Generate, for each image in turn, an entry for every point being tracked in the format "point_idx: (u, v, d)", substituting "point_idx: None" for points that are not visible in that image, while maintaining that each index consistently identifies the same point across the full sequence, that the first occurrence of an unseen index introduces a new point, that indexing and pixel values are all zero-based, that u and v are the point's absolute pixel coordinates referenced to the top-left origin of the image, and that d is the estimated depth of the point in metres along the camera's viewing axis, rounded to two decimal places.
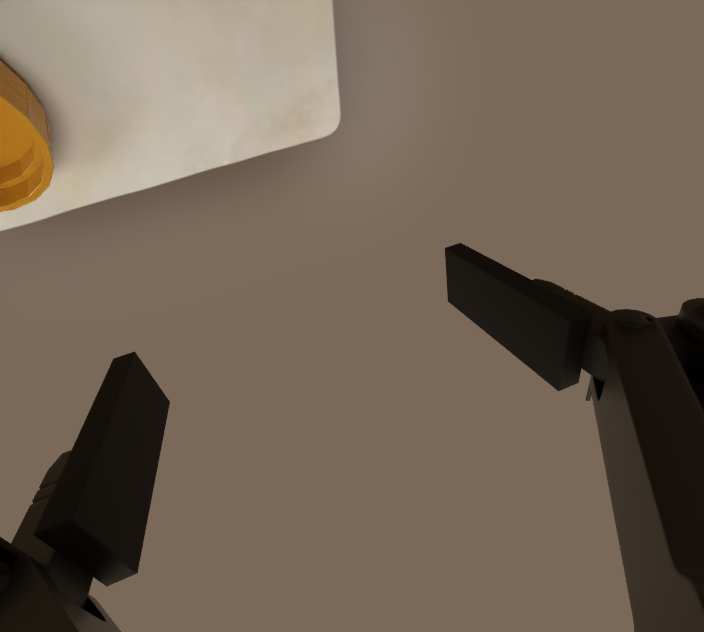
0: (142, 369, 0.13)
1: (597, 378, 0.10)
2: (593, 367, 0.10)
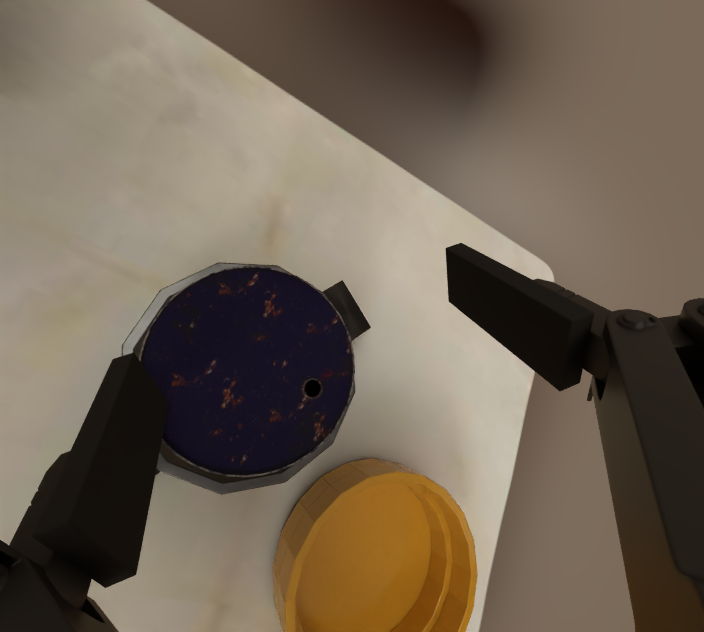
0: (142, 370, 0.13)
1: (599, 378, 0.10)
2: (594, 367, 0.10)
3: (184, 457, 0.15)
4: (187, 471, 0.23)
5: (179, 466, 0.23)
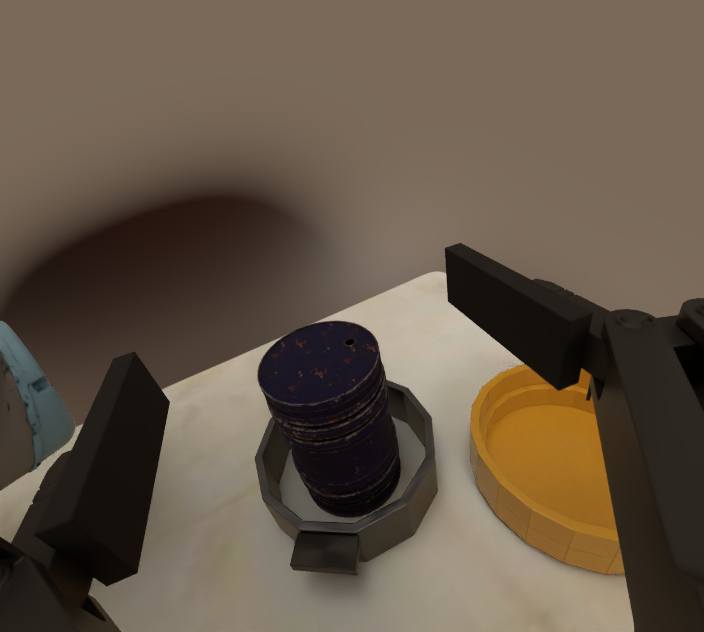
0: (143, 369, 0.13)
1: (597, 378, 0.10)
2: (593, 367, 0.10)
3: (327, 400, 0.23)
4: (372, 515, 0.26)
5: None
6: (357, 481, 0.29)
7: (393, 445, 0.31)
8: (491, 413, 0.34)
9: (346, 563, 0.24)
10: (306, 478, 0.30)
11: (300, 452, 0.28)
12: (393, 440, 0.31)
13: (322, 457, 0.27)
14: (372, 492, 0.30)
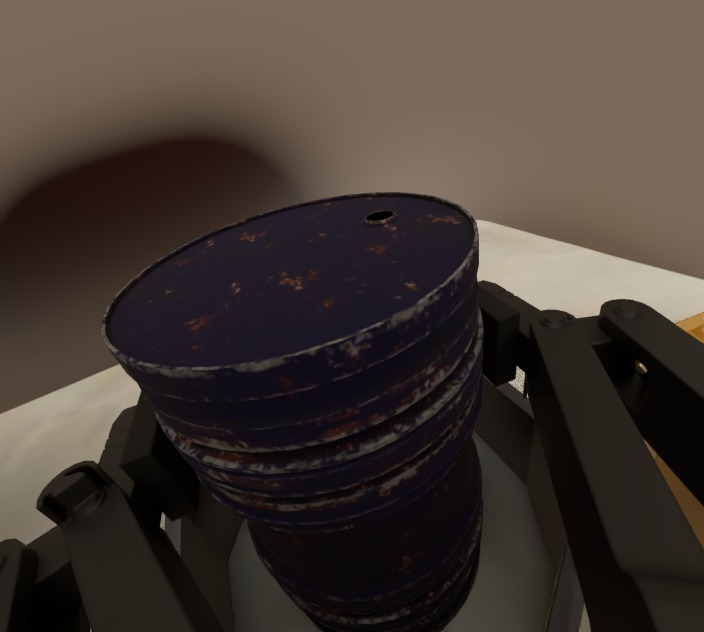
0: None
1: (530, 376, 0.11)
2: (526, 367, 0.11)
3: (317, 350, 0.06)
4: None
5: None
6: (406, 590, 0.11)
7: (480, 484, 0.13)
8: None
9: None
10: (274, 573, 0.12)
11: None
12: (479, 472, 0.13)
13: (307, 538, 0.09)
14: (437, 605, 0.12)
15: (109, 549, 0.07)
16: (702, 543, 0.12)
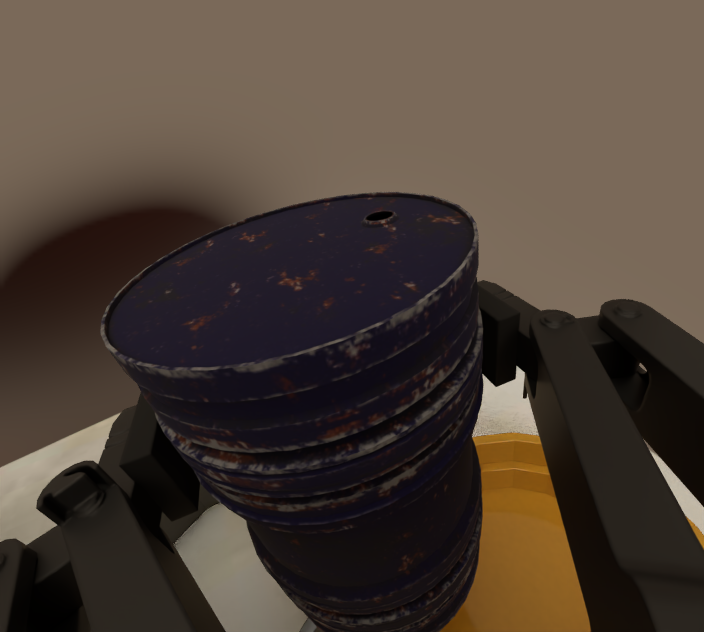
0: None
1: (530, 377, 0.11)
2: (525, 367, 0.11)
3: (316, 350, 0.06)
4: None
5: None
6: (406, 590, 0.11)
7: (480, 485, 0.13)
8: None
9: None
10: (273, 574, 0.12)
11: None
12: (478, 472, 0.13)
13: (307, 538, 0.09)
14: (437, 605, 0.12)
15: (109, 549, 0.07)
16: None
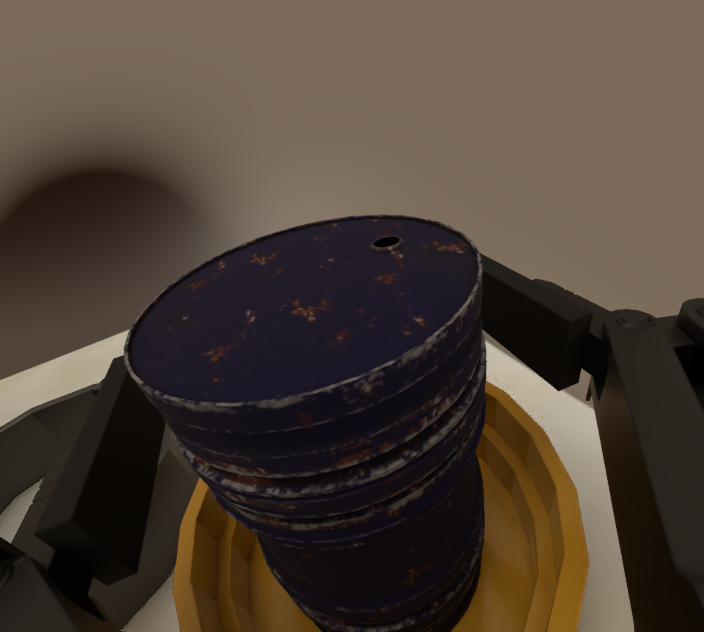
0: None
1: (597, 378, 0.10)
2: (593, 367, 0.10)
3: (333, 388, 0.06)
4: None
5: None
6: (411, 601, 0.11)
7: (482, 497, 0.14)
8: None
9: None
10: (283, 584, 0.13)
11: None
12: (481, 485, 0.14)
13: (318, 553, 0.10)
14: (441, 614, 0.13)
15: None
16: None
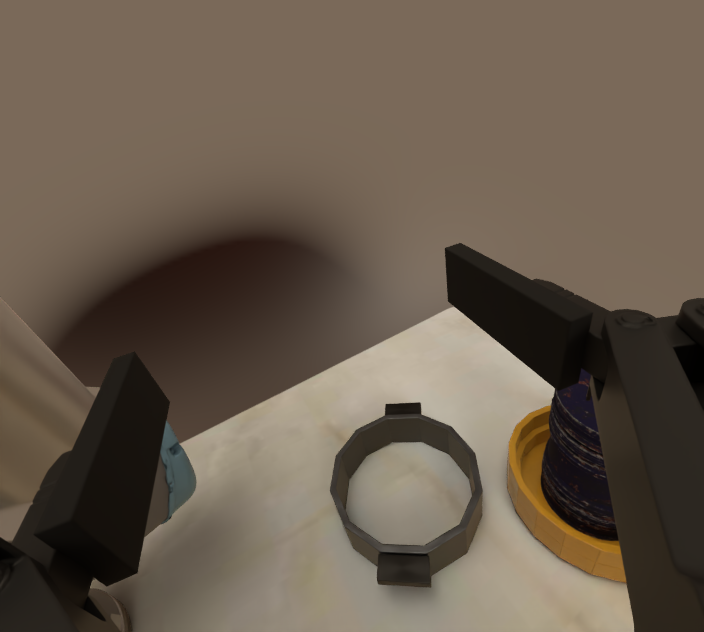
0: (143, 369, 0.13)
1: (597, 378, 0.10)
2: (593, 367, 0.10)
3: None
4: (438, 538, 0.33)
5: None
6: None
7: None
8: (523, 448, 0.41)
9: (422, 578, 0.31)
10: (587, 506, 0.32)
11: (599, 484, 0.30)
12: None
13: None
14: None
15: None
16: (517, 497, 0.36)
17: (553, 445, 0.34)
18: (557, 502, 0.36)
